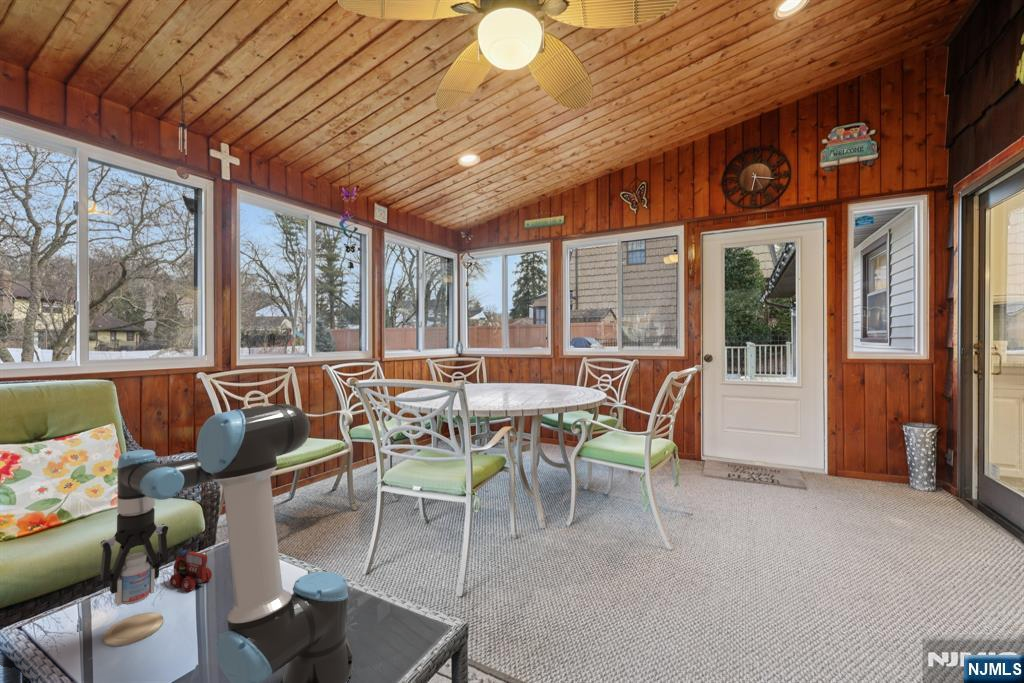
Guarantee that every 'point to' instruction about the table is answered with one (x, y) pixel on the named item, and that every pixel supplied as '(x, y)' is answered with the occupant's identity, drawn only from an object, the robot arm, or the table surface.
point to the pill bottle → (135, 578)
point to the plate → (133, 629)
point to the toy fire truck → (190, 570)
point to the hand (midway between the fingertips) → (134, 597)
